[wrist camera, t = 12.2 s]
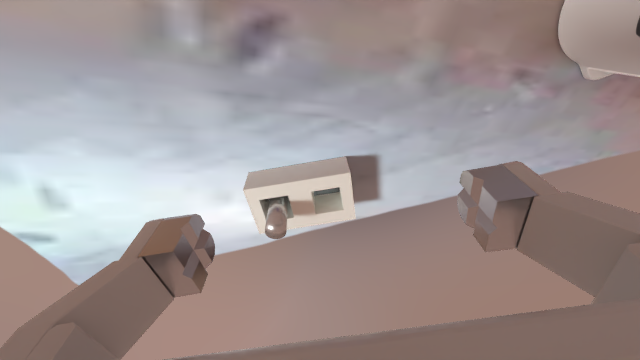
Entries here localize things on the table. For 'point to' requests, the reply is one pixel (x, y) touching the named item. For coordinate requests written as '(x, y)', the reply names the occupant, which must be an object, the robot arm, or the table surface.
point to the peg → (277, 217)
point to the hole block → (303, 192)
